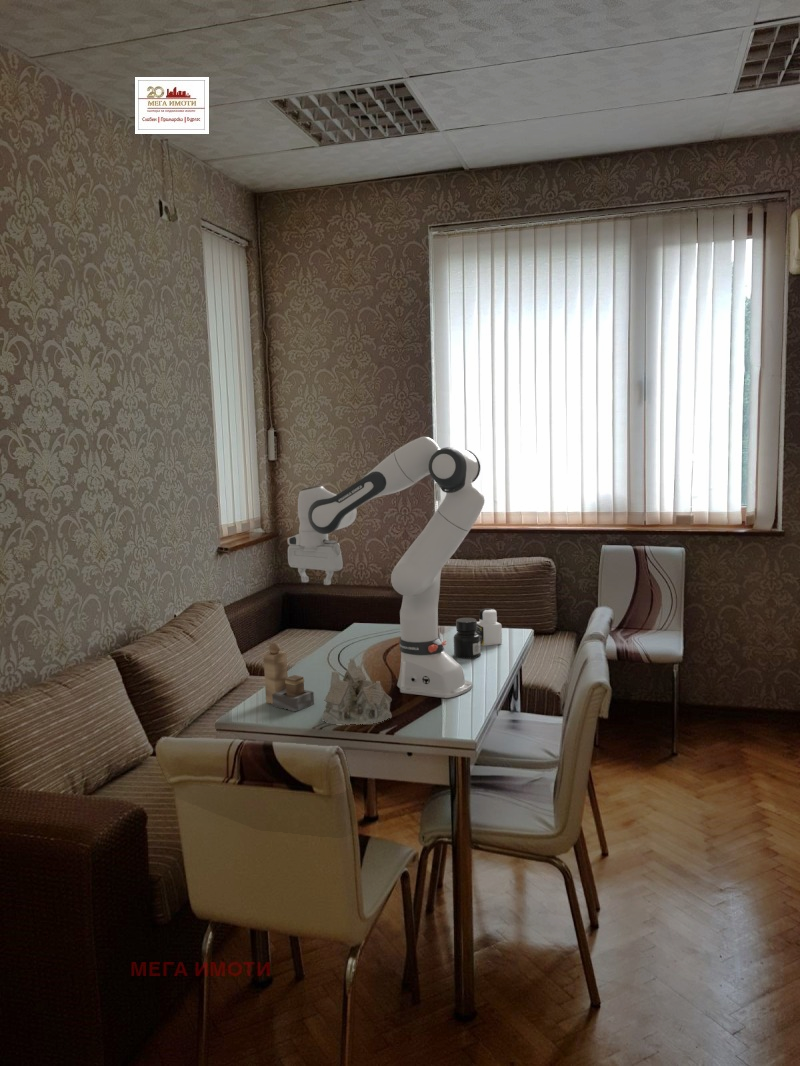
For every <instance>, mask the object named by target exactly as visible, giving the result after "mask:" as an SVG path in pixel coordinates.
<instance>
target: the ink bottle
mask: <svg viewBox="0 0 800 1066" xmlns="http://www.w3.org/2000/svg"><path fill="white" fill-rule="evenodd" d="M477 622H478V621H477V619H476V618H473V617H461V618H456V621H455V624H456V625H455V628H456V633H455V634H454V635H453V654H454V656H455V657H456V658H459V659H472V658H473V659H474V658H478V657H480V656H481V651H482V650H481V648H482V646H481V644H480V635H479V634H478V633H477V632H476V631H477Z"/></svg>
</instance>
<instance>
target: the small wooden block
mask: <svg viewBox="0 0 800 1066" xmlns="http://www.w3.org/2000/svg"><path fill="white" fill-rule="evenodd" d="M304 682H305V678H304V676H301V675H297V674H293V675H290V676H288V678H286V680H285V683H286V695H287V696H291V697H297V696H299V695H302V694H304V690H305V683H304Z"/></svg>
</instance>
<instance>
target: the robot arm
mask: <svg viewBox="0 0 800 1066" xmlns="http://www.w3.org/2000/svg"><path fill="white" fill-rule="evenodd" d="M480 473H481V462H480V460H479V457H478V456H477V455H476V454H475V453H474V452H472V451H471V450H468V449H464V448H462V447H454V446H453V447H452V446H447V447H446V446H445V447H442V448H440V446H439V444H438V443H437V442H436V441H435V440H434V439H432V438H431V437H429V436H421V437H418V438H415V439H413V440H411V441H409V442H408V443H405V444H403V445H402V446H400V447H399V448H397V449H396V450H394V451H392V453H391V454H388V455H387V456H386V457H385V458H384V459H382V461H380V463H378V464H377V465H376V466H374V468H372V469H371V470H370V471H369V472H368V473H367V474H365V475H364V476H363V477H361V478H360V479H359V480H357V481H356V482H354V483H353V484H352V485H349V486H348V487H346V488H345V489H343V490H342V491H340V492H339V493H338V494H336V493H334V492H331V491H329V490H328V489H326V488H325V486H323V485H316V486H309V487H305V488H303V489H301V490H300V491H299V494H298V496H297V517H298V521H299V527H298V533H297V534H295V535H293V536H290V537H288V538H287V545H288V547H287V563H288V565H289V567H290V568H296V569H297V572H298V574H299V576H300V577H301V578H300V579H301V583H309V581H310V579H309V576H308V575H307V573H306V570H316V571H325V574H326V576H325V578H324V579H323V585H325V586H330V585H331V584H332V577H333V575H334V573H335V572H338V571H342V569H343V567H344V566H343V565H344V563H343V561H344V560H343V556H342V552H341V545H340V544H339V543H338V542H337V541H336V540H333V539H332V540H331V539H329V534H331V533H332V532H335V531H337V530H341V529H344V528H347V527H349V526H351V525H352V524H354V523H355V521H356V519H357V516H358V508H359V507H361V506H362V505H364V504H365V503H367V502H369V501H371V500H374V499H375V498H379V497H384V496H387V495H392V494H396V493H399V492H402V491H403V490H406V489H408V488H410V487H412V486H413V485H415V484H416V483H418V482H420V481H421V480H422V479H424V478H425V477H427V476H429V475H430V476H431V478H432V479H433V480H434V482H435V483H436V484H437V486H439V489H440V490H441V491H442V492H444V493H445V497H444V499H443V500H442V502H441V503H440V504H439V506H438V508H437V509H436V510H435V512H434V514H433V515H432V516H431V518H430V520H429V521H428V523H427V524H426V526H425V527H424V529H423V530H422V531H421V533H420V534H419V535H418V536H417V537H416V538H415V540H414V541H413V542H412V544H411V545H410V546H409V547H408V549H407V550H406V551H405V553H403V555H402V556H401V558H400V559H399V561H397V563H396V565H394V567H393V569H392V571H391V574H390V582H391V585H392V588H393V590H394V591H396V592H397V593H398V594H400V595H401V596H402V600H401V601H402V602H401V607H400V610H399V618H400V619H399V622H400V625H399V626H400V627H399V628H400V638H399V651H400V667H399V668H400V669H399V676H398V681H397V684H396V686H397V687H398V688H399V692H400V693H402V694H408V695H418V696H424V697H425V696H426V697H434V698H443V699H448V698H455V697H457V696H460V695H463V694H465V693H467V692H469V691H470V690H472V688H473V682H472V681H470V680H466V679H465V674H464V670H463V669H464V668H463V666H462V665H461V664H460V663H458V661H457V660H455V659H454V658H453V657H452V656H451V655H449V654H448V653H447V651H445V648H444V646H446V645H447V640H444V641H442V639H441V637H440V636H439V622H438V621H439V616H438V614H439V612H438V611H439V610H438V608H439V599H440V590H441V589H440V588H441V576H442V575H441V574H442V569H443V567H444V566H445V565H446V563H447V562H448V561H449V560H450V559H451V558H452V556H453V555H454V554H455V553H456V551H457V550H458V548H459V546H460V545H461V544H462V542H463V541H464V539H465V538H466V537H467V536H468V535H469V532H470V531H471V530H472V528H473V526H474V525H475V523H476V521H477V520H478V518H479V515H480V514H481V512H482V509H483V507H484V505H485V496H484V494H483V493H482V491H481V490H480V489H479V488H478V487H476V486H475V485H474V482H475V481H476V480H477V479H478V477H479V476H480Z"/></svg>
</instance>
